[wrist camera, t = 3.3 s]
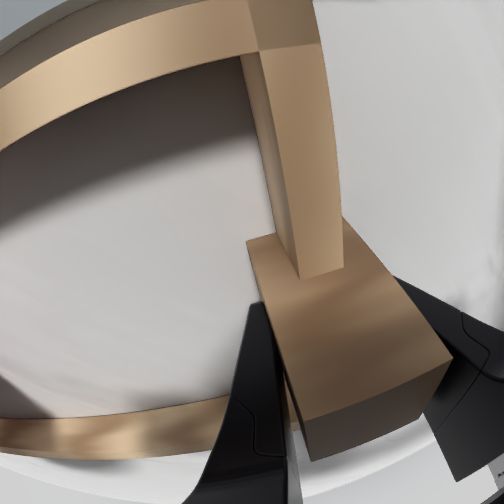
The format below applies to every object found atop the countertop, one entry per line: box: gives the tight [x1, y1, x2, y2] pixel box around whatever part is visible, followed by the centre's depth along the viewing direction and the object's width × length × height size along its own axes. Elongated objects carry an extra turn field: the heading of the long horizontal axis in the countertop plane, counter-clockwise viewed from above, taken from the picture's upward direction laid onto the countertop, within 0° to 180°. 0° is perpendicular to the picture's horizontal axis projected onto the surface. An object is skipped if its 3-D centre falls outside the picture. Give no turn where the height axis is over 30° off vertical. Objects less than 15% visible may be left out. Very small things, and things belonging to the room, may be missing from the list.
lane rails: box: [0, 0, 100, 56], centre depth 10 cm, size 32×22×1 cm
